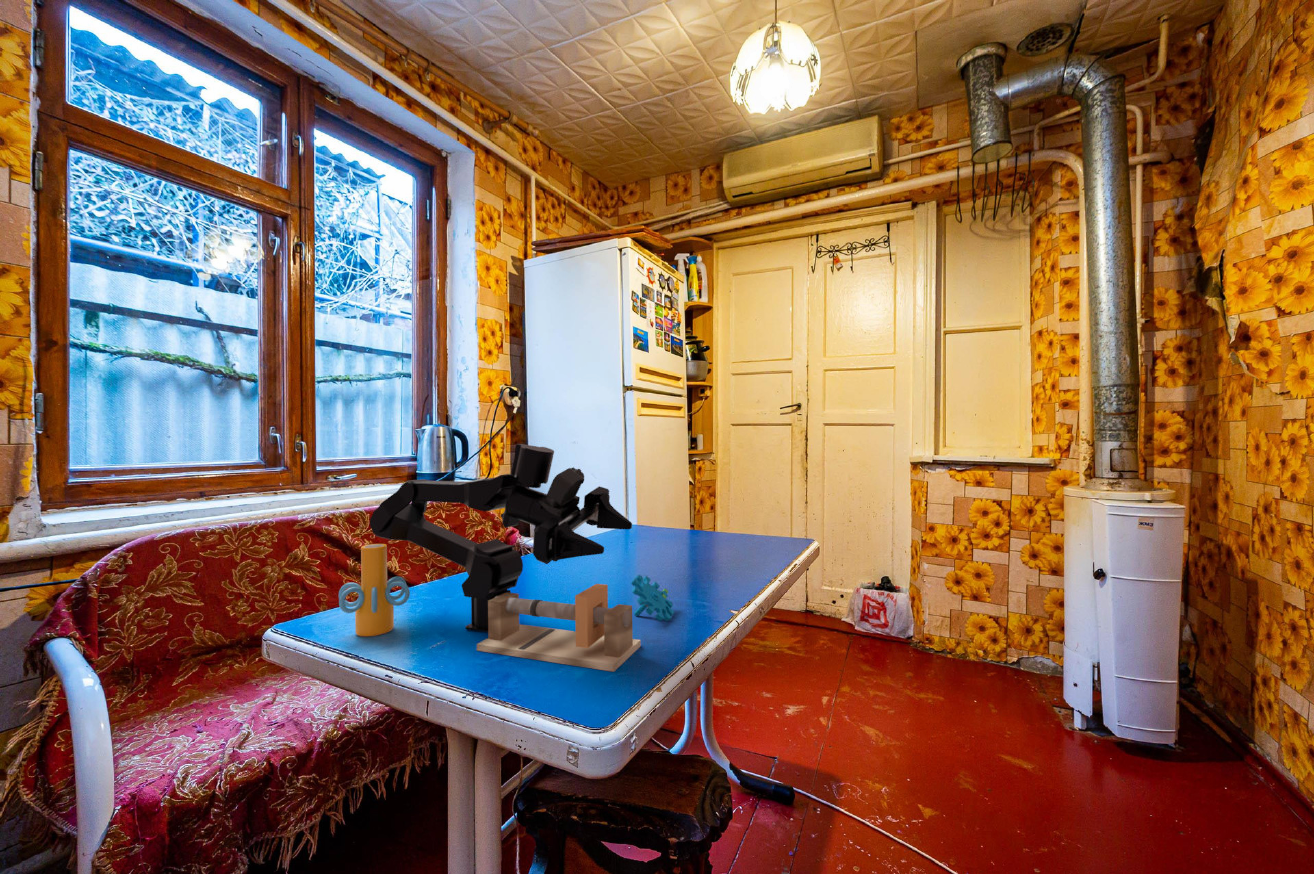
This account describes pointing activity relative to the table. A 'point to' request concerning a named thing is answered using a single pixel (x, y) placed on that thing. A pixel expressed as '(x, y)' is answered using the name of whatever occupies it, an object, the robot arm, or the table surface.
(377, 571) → the cylinder
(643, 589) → the gear
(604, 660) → the pipe rig
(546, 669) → the table surface
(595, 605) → the collar
